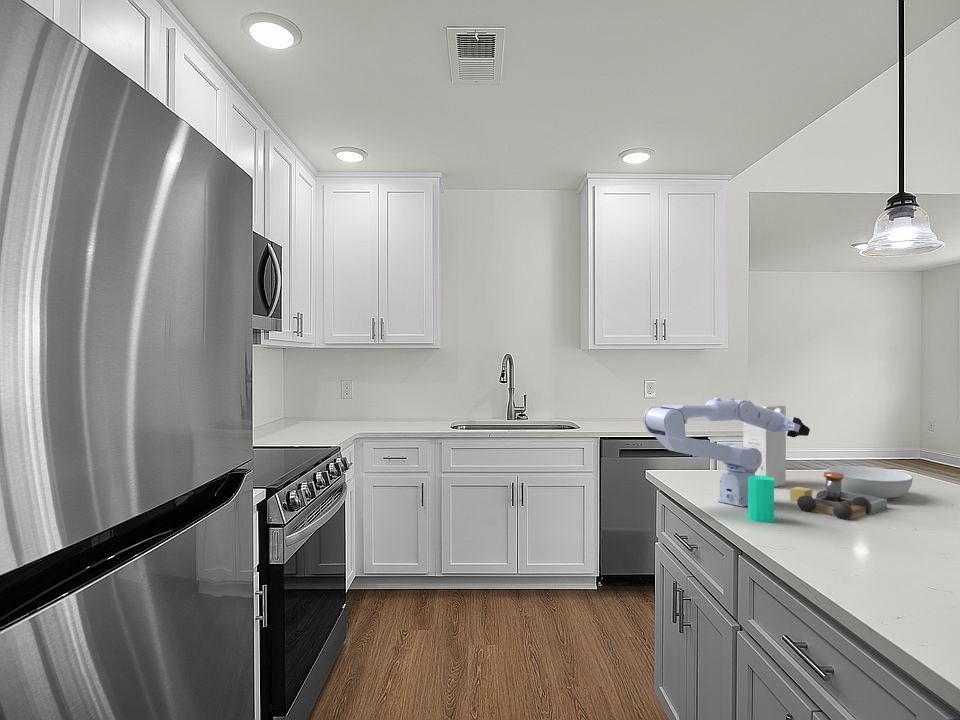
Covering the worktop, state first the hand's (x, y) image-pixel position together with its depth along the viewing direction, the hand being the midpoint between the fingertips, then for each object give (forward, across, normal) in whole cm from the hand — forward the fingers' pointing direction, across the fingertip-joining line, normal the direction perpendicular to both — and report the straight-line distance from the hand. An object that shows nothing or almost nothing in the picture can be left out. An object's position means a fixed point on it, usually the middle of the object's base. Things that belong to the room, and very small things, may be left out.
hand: (797, 429), depth 176 cm
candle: (-23, -18, +25) cm, 39 cm away
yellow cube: (+1, -7, +19) cm, 21 cm away
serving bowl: (+24, -9, +13) cm, 28 cm away
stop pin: (-1, -19, +16) cm, 25 cm away
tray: (+9, -17, +16) cm, 25 cm away
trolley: (-1, -19, +18) cm, 27 cm away
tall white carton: (+8, +13, +19) cm, 25 cm away
